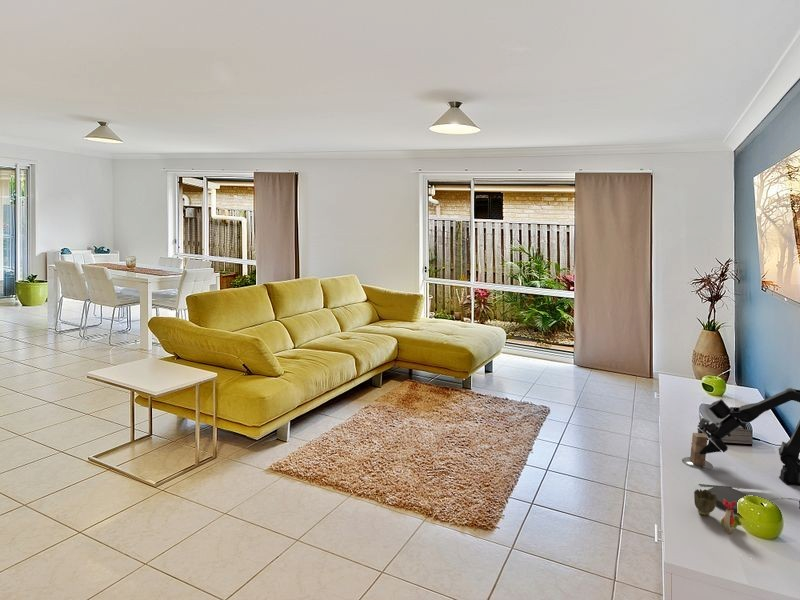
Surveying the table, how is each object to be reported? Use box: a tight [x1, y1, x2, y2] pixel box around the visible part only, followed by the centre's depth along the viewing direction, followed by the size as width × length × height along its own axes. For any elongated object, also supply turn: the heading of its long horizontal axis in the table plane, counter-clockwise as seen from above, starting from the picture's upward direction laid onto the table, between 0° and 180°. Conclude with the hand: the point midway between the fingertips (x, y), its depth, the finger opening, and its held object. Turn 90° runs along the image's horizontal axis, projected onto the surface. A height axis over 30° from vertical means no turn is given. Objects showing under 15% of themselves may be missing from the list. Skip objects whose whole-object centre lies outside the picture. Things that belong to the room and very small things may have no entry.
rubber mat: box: [698, 483, 733, 488], centre depth 218 cm, size 12×10×1 cm
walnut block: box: [689, 432, 709, 466], centre depth 232 cm, size 4×4×13 cm
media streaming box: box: [706, 486, 748, 514], centre depth 203 cm, size 15×15×3 cm
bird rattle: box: [720, 499, 743, 534], centre depth 184 cm, size 6×11×9 cm
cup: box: [693, 488, 718, 517], centre depth 194 cm, size 8×7×8 cm
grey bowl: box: [681, 456, 714, 471], centre depth 233 cm, size 12×12×5 cm
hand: (695, 449), depth 232 cm, fingers open, 9 cm apart
